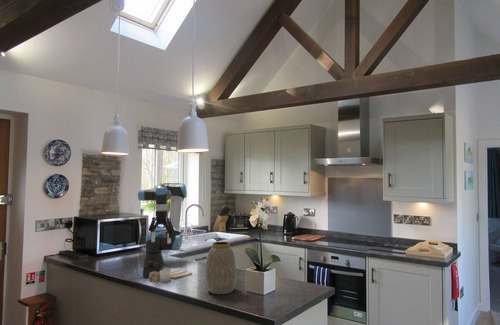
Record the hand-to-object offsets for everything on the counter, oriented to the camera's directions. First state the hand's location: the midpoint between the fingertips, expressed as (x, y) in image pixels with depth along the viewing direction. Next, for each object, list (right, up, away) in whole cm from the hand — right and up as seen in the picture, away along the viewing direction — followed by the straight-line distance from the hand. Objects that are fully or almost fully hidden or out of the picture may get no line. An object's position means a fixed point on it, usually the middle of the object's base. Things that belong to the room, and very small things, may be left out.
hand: (161, 242), depth 242 cm
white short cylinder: (+6, -21, -16) cm, 27 cm away
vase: (+43, -20, -35) cm, 59 cm away
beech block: (0, -21, -14) cm, 25 cm away
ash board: (+11, -21, -2) cm, 24 cm away
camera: (-5, -22, -3) cm, 23 cm away
